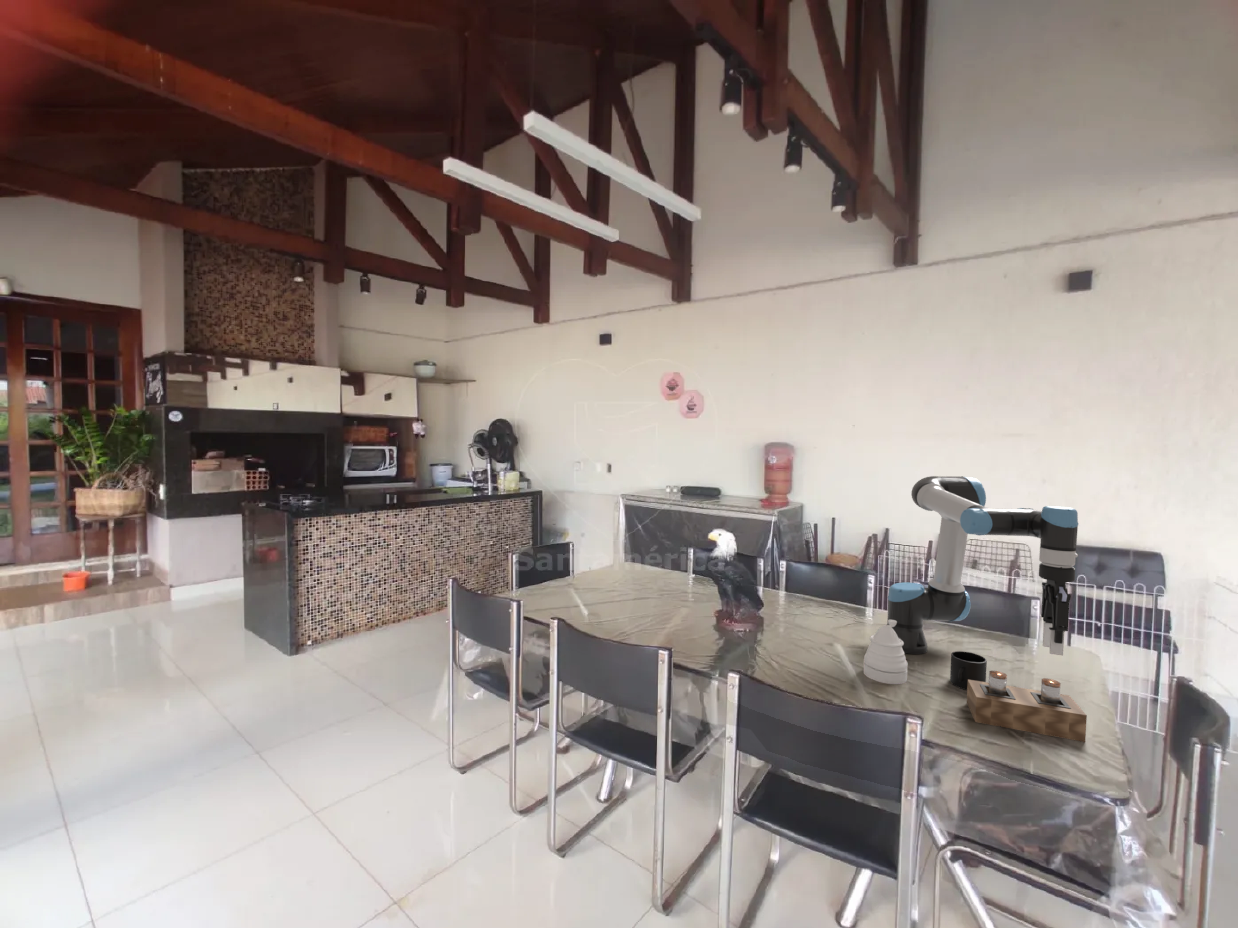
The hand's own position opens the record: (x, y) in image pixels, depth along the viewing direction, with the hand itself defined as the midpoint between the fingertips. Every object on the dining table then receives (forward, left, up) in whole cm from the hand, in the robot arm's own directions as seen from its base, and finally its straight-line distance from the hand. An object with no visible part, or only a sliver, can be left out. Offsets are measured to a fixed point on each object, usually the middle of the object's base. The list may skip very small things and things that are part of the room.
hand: (1052, 650), depth 147 cm
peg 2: (0, 0, -16) cm, 16 cm away
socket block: (-6, 0, -21) cm, 22 cm away
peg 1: (-12, 0, -16) cm, 20 cm away
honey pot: (-39, +17, -21) cm, 47 cm away
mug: (-16, +19, -21) cm, 32 cm away
